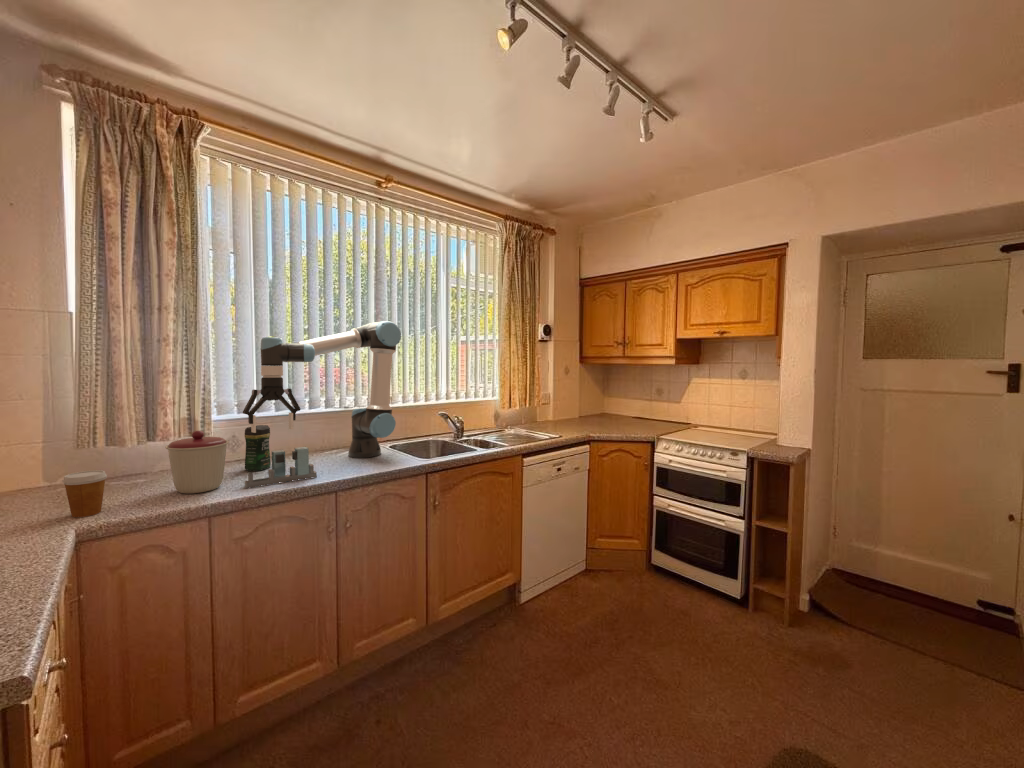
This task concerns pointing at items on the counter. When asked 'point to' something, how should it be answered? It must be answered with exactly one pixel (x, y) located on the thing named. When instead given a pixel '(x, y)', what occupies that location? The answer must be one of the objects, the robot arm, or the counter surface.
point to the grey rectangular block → (278, 463)
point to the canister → (197, 463)
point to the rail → (297, 472)
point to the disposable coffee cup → (85, 492)
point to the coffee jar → (257, 448)
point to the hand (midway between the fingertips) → (272, 430)
